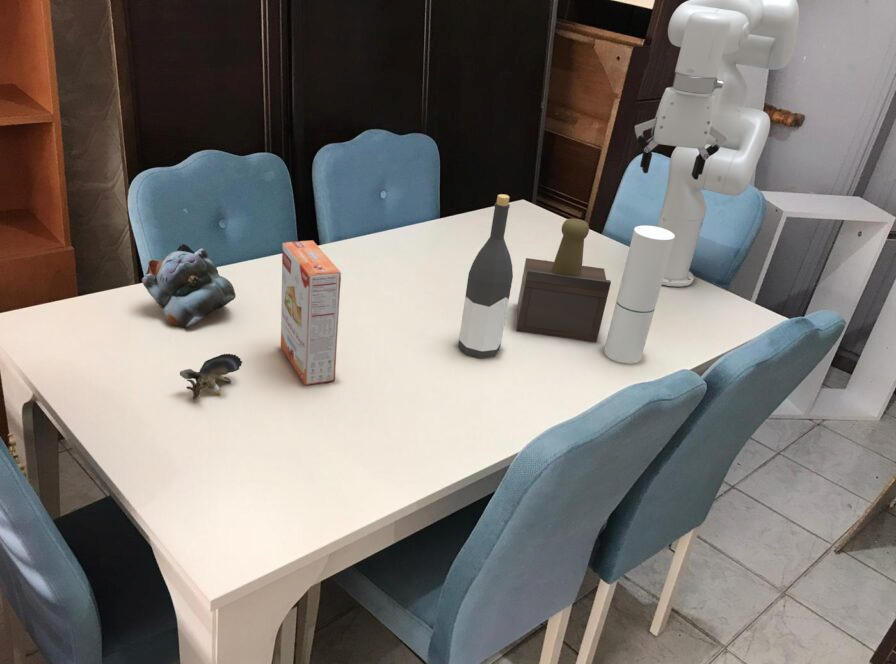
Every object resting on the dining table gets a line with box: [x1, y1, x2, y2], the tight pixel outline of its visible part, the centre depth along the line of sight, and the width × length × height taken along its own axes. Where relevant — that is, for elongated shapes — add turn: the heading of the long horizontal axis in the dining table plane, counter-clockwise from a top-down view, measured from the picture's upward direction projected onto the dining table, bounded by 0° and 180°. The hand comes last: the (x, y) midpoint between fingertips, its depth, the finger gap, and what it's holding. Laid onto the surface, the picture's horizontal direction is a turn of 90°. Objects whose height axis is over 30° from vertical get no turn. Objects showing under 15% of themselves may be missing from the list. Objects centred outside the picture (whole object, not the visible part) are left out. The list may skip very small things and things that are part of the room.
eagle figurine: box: [179, 353, 243, 401], centre depth 138 cm, size 8×7×9 cm
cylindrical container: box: [603, 224, 675, 365], centre depth 157 cm, size 7×7×25 cm
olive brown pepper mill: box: [551, 218, 590, 276], centre depth 165 cm, size 6×6×11 cm
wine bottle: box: [458, 193, 514, 359], centre depth 153 cm, size 8×8×30 cm
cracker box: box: [280, 239, 342, 386], centre depth 144 cm, size 14×6×21 cm, turn 23°
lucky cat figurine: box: [141, 243, 237, 329], centre depth 161 cm, size 15×12×14 cm
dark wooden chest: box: [515, 257, 612, 343], centre depth 170 cm, size 12×16×13 cm
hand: (669, 174), depth 166 cm, fingers open, 9 cm apart
